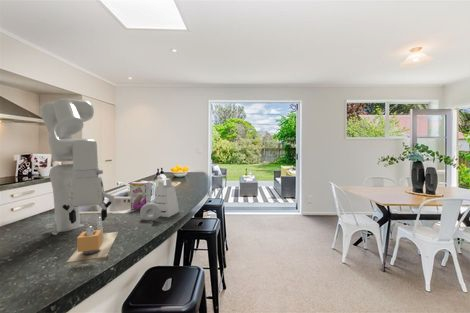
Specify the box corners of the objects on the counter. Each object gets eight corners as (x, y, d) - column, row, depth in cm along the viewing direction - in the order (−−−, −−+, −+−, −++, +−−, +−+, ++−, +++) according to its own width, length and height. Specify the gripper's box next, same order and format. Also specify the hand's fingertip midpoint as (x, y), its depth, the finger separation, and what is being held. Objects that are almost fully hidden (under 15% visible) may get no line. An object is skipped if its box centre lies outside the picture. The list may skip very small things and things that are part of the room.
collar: (83, 244, 91) (82, 231, 90) (102, 242, 92) (102, 229, 92) (77, 252, 85) (77, 238, 84) (98, 249, 86) (97, 235, 86)
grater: (152, 215, 137) (151, 180, 136) (164, 210, 147) (162, 177, 146) (168, 217, 134) (167, 180, 133) (179, 211, 144) (177, 178, 142)
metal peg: (80, 256, 85) (79, 229, 85) (85, 250, 90) (83, 224, 90) (97, 254, 87) (95, 227, 86) (100, 248, 92) (99, 223, 91)
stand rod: (97, 239, 101) (95, 217, 100) (98, 237, 103) (97, 216, 102) (102, 238, 101) (101, 217, 101) (103, 236, 103) (102, 215, 103)
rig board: (66, 266, 82) (66, 262, 82) (88, 238, 106) (88, 235, 106) (106, 260, 85) (106, 256, 85) (118, 235, 109) (118, 231, 109)
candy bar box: (130, 209, 152) (129, 183, 151) (135, 207, 157) (134, 181, 156) (146, 209, 150) (145, 183, 149) (151, 207, 155) (150, 182, 154)
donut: (140, 223, 124) (139, 204, 123) (140, 221, 127) (139, 202, 126) (160, 221, 126) (159, 202, 126) (160, 219, 130) (160, 201, 129)
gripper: (114, 171, 93) (116, 215, 95) (62, 173, 88) (65, 220, 90) (111, 174, 86) (113, 221, 87) (53, 177, 81) (56, 227, 82)
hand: (88, 220), depth 88 cm, fingers open, 9 cm apart
